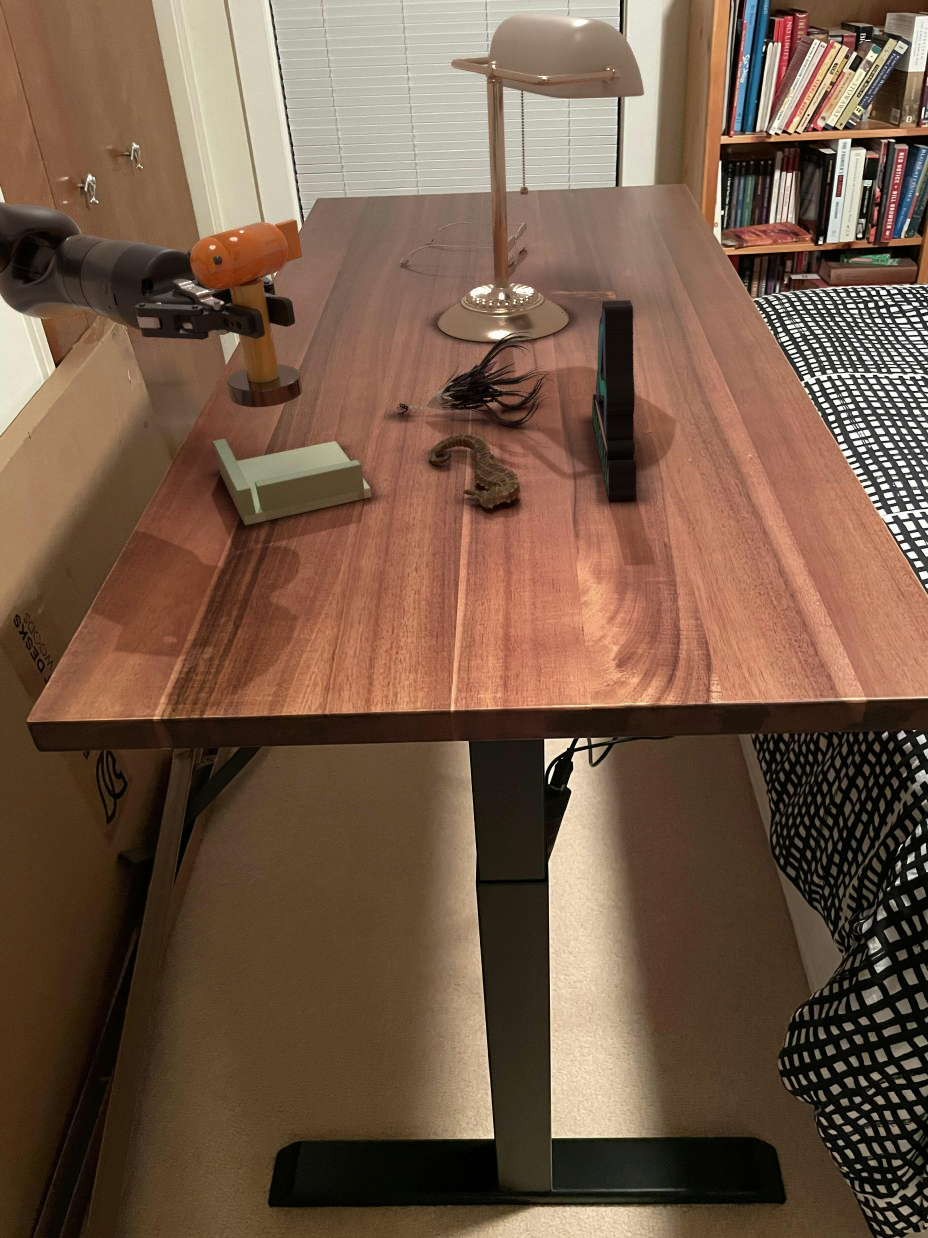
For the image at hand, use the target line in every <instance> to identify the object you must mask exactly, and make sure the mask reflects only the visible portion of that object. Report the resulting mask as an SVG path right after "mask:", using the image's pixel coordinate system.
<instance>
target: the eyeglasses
mask: <svg viewBox="0 0 928 1238" xmlns="http://www.w3.org/2000/svg"><path fill="white" fill-rule="evenodd" d="M462 224H463V225H467V224H468V225H469V224H471V222H470V221H457V222H453V223H450V224H447V225H445V226H442V227H441V228H439V229H438V230H442V229H443V230H445V229H446V228H449V227H451V226H455V225H462ZM475 224H476V225H477V224H479V225H482V224H484V225H492V222H475ZM507 226H518V227H519V228H518V229H517V233H516V234H514V235H511V236H510V237H508V253H509V252H510V251H511V250H512V248H513V247H514V245H515V246H516V242H515V240H516V241H517V240H518V239H519V238H520V237H521V236H522V235H523V233H524V231H525V230H526V231H527V222H518V223H507ZM443 230H442V231H443ZM431 247H441V248H445V247H446V248H465V246H462V245H460V246H459V245H444V244H426V245H424V246H423V245H422V246H420V247H418V248H416V249H414V250H412V251H411V252H409V253H408V254H407V255H412V256H414V255H415V254H416V253H417V252H419V251H421V250H423V249H425V248H431ZM466 248H467V249H469V248H470V249H471V248H472V249H493V246H492V247H490V246H488V247H487V246H466ZM514 260H515V255H514V256H513V255H512V257H511V258H510V259H509V260H508V266H510V265H512V264H513V262H514ZM409 262H410V260H404V259H403V258H402V259H401V260H400V261H399V264H400V265H401V266H406V265H408V264H409Z"/></svg>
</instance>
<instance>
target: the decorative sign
mask: <svg viewBox="0 0 928 1238" xmlns="http://www.w3.org/2000/svg"><path fill="white" fill-rule="evenodd" d="M597 338H598V339H597V371H596V383H595V393H593V394H592V403H591V424H592V428H593V429H592V430H593V433H594V437H595V443H596V446H597V453H598V459H599V463H600V465H601V471H602V476H603V481H604V486H605V491H606V493H607V500H608V501H620V500H621V501H622V500H637V499H636V498H637V460H636V459H635V451H636V450H635V449H636V448H635V427H634V426H635V424H634V422H635V421H634V420H635V419H634V417H635V415H634V414H635V402H636V400H635V397H636V396H635V393H636V392H635V390H636V389H635V377H634V306H633V304H632V301H631V300H630V299H627V300H625V299H624V300H603V301H602V305H601V317H600V319H599V325H598V336H597Z"/></svg>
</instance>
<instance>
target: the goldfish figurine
mask: <svg viewBox="0 0 928 1238" xmlns="http://www.w3.org/2000/svg"><path fill="white" fill-rule="evenodd" d="M185 253H186V255H187V257H188V258H189V259H190V267H191V270H192V273H193V274H194V276H195V278H196V279H197V280H198V281H199V282H200V283H201V284H202V285H204V286H205V287H207V288H209V289H212V290H226V289H230V294H231V299H232V303H233V304H237V305H241V306H246V307H250V308H254V309H258V310H259V311H260V312H261V314H262V318H263V323H264V329H265V335H264V336H262V337H260V338H257V339H255V338H251V337H248V336H244V335H240V334H237V335H238V339H239V346H240V350H241V354H242V361H243V364H244V368H240V369H239V370H236V371H234V372H233V373H231V374H230V375H229V376H228V377H227V379H226V388H227V391H228V396H229V399H230V401H231V402H232V403H233V404H236V405H238V406H241V407H247V408H267V407H274V406H275V407H276V406H279V405H283V404H286V403H289V402H292V401H293V400H295V399H297V398H298V397H300V396H301V395H302V393H303V389H304V388H303V384H302V376H301V372H300V370H299V369H297V368H295V367H294V366H290V365H286V364H279V363H278V359H277V353H276V348H275V343H274V335H273V330H272V326H271V325H272V323H270V319H269V313H268V307H267V302H266V296H265V290H264V285H263V280H262V279H261V277H264V276H266V277H267V276H270V275H273V274H276V273H278V272H280V270H282V269H283V268H284V267H285V266H286V264H287V263H289V262H291V261H294V260H297V259H300V258H303V253H302V245H301V240H300V234H299V226H298V220H297V219H295V218H293V219H292V218H291V219H288V220H285V221H281V222H278V223H275V224H272V223H269V222H266V221H258V222H254V223H253V222H252V223H250V224H247V225H243V226H239V227H236V228H232V229H229V230H226V231H223V232H222V231H221V232H218V233H215V234H211V235H208V236H205V237H203V238H201V239H199V240H198V241H196V243H195V244H194V245H193V247H192V248H191V249H188V250H187V251H186V252H185Z"/></svg>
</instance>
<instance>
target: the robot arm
mask: <svg viewBox="0 0 928 1238" xmlns="http://www.w3.org/2000/svg"><path fill="white" fill-rule="evenodd" d="M186 253H187V252H184V251H182V250H179V249H174V248H169V247H164V246H159V245H156V244H150V243H145V242H141V241H135V240H128V239H118V240H117V239H111V238H108V237H107V238H106V237H103V236H102V237H101V236H97V235H93V234H83V232H82V230H81V228H80V227H79V226H78V224H77V223H76V221H75V220H74V219H73V218H72V217H71V216H69V215H68V214H67V213H64V212H63V211H61V210H59V209H56V208H54V207H50V206H45V205H41V204H33V203H12V202H3V201H0V296H1V298H2V299H3V301H4V302H5V303H6V304H7V305H8V306H9V307H10V308H11V309H13V310H14V311H16V312H17V313H20V314H22V315H25V316H27V317H30V318H35V319H42V320H57V319H66V318H70V317H74V316H79V315H84V314H89V315H93V316H97V317H100V318H105V319H108V320H110V321H112V322H113V323H116V324H118V325H120V326H123V327H127V328H129V329H134V330H138V331H140V332H141V336H142V337H144V338H155V339H156V338H160V339H180V340H181V339H182V340H199V341H200V340H201V341H203V340H205V339H208V338H209V337H210V335H209V334H211V333H213V334H215V335H220V336H225V335H227V334H229V333H232V334H235V335H236V334H237V335H238V334H240V335H244V336H248V337H251V338H255V339H257V338H260V337H262V336H264V335H265V329H264V323H263V318H262V314H261V312H260V311H259V310H258V309H254V308H250V307H246V306H241V305H237V304H233V303H232V299H231V294H230V289H226V290H212V289H209V288H207V287H205V286H204V285H202V284H201V283H200V282H199V281H198V280H197V279H196V278H195V276H194V274H193V273H192V270H191V267H190V259H189V258H188V257H187V255H186ZM261 279H262V280H263V285H264V290H265V296H266V302H267V307H268V313H269V319H270V324H271V325H272V324H273V325H277V326H281V327H285V328H288V327H291V326H293V325H295V324H296V317H295V311H294V305H293V301H292V300H291V299H290V298H288V297H284V296H279V295H276V289H275V288H276V287H275V283H274V281H273V280H271V279H270V278H269V277H267V276H264V277H261Z"/></svg>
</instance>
